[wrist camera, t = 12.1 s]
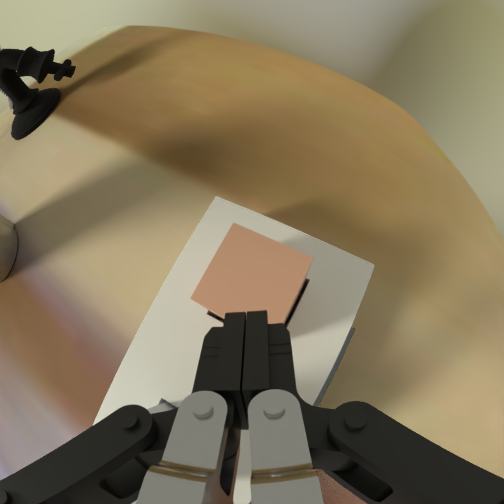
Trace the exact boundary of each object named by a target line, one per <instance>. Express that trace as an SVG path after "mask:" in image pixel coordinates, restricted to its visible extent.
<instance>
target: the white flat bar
mask: <svg viewBox="0 0 504 504" xmlns="http://www.w3.org/2000/svg"><path fill="white" fill-rule="evenodd" d="M233 222H234V223H236V224H238V225H241V226H243V227H245V228H248V229H250V230H252V231H254V232H257V233H259V234H261V235H264V236H266V237H268V238H270V239H273V240H275V241H277V242H279V243H282V244H284V245H286V246H288V247H291V248H293V249H295V250H297V251H300V252H302V253H304V254H306V255H308V256H311V257H313V261H312V263H311V266H310V269H309V271H308V274H307V277H306V279H305V282H304V284H303V287H302V290H301V292H300V295H299V297H298V299H297V301H296V303H295V305H294V307H293V309H292V311H291V313H290V315H289V317H288V319H287V321H286V323H285V327H286V328H287V329H288V330H289V332H290V338H291V346H292V354H293V363H294V371H295V380H296V388H297V392H298V394H299V396H300V397H301V398H302V399H303V400H304V401H305V402H306V403H308V404H310V405H312V406H315V407H317V406H318V404H319V403H320V401H321V399H322V397H323V395H324V393H325V391H326V389H327V387H328V386H329V384H330V382H331V380H332V378H333V376H334V374H335V372H336V370H337V367H338V365H339V363H340V361H341V359H342V357H343V355H344V353H345V351H346V348H347V346H348V344H349V342H350V339H351V337H352V335H353V333H354V330H355V329H354V328H352V327H351V326H352V323H353V321H354V319H355V316H356V314H357V311H358V309H359V306H360V304H361V301H362V299H363V296H364V294H365V291H366V289H367V286H368V283H369V280H370V278H371V275H372V272H373V269H374V267H375V265H374V264H372V263H370V262H368V261H365V260H363V259H361V258H359V257H357V256H355V255H353V254H350V253H348V252H346V251H344V250H342V249H339V248H337V247H335V246H333V245H331V244H328V243H326V242H324V241H322V240H319V239H317V238H315V237H313V236H310V235H308V234H306V233H304V232H301V231H299V230H297V229H294V228H292V227H290V226H287V225H285V224H283V223H280V222H278V221H276V220H273V219H271V218H269V217H266V216H264V215H262V214H259V213H257V212H254V211H252V210H250V209H247V208H245V207H242V206H240V205H237V204H235V203H232V202H230V201H227V200H225V199H222V198H220V197H217V196H216V197H215V198H214V200H213V202H212V203H211V205H210V206H209V208H208V210H207V211H206V213H205V214H204V216H203V218H202V219H201V221H200V222H199V224H198V226H197V227H196V229H195V231H194V232H193V234H192V236H191V237H190V239H189V240H188V242H187V244H186V246H185V247H184V249H183V251H182V252H181V254H180V256H179V257H178V259H177V261H176V263H175V264H174V266H173V268H172V269H171V271H170V273H169V275H168V276H167V278H166V280H165V282H164V284H163V285H162V287H161V289H160V291H159V292H158V294H157V296H156V298H155V300H154V302H153V303H152V305H151V307H150V309H149V311H148V313H147V314H146V316H145V318H144V320H143V322H142V324H141V326H140V328H139V330H138V332H137V333H136V335H135V337H134V339H133V341H132V343H131V345H130V347H129V349H128V351H127V353H126V355H125V357H124V359H123V361H122V363H121V365H120V367H119V369H118V371H117V373H116V375H115V378H114V380H113V382H112V384H111V386H110V388H109V390H108V392H107V395H106V397H105V399H104V401H103V403H102V406H101V408H100V410H99V412H98V414H97V417H96V419H95V421H94V424H93V425H95V424H96V423H98V422H99V421H101V420H102V419H104V418H105V417H107V416H108V415H110V414H111V413H113V412H114V411H116V410H117V409H119V408H121V407H123V406H126V405H131V404H134V405H140V406H142V407H144V408H146V409H148V408H151V407H154V406H156V405H159V404H161V403H164V402H169V403H171V404H172V405H174V406H175V407H179V406H180V404H181V402H182V401H183V400H184V399H185V398H186V397H187V396H188V395H190V394H191V393H192V389H193V385H194V380H195V375H196V371H197V366H198V362H199V358H200V353H201V349H202V344H203V340H204V336H205V335H206V334H207V333H208V331H209V330H210V329H211V328H212V327H223V324H224V320H223V319H222V318H220V317H219V316H217V315H215V314H214V313H212V312H211V311H209V310H207V309H206V308H204V307H203V306H201V305H199V304H198V303H196V302H195V301H193V300H192V299H190V298H191V296H192V294H193V293H194V291H195V289H196V287H197V285H198V284H199V282H200V280H201V278H202V276H203V275H204V273H205V271H206V269H207V268H208V266H209V264H210V262H211V261H212V259H213V257H214V255H215V253H216V252H217V250H218V248H219V246H220V245H221V243H222V241H223V240H224V238H225V236H226V234H227V233H228V231H229V229H230V227H231V226H232V224H233ZM251 473H252V470H251V453H250V437H249V430H241V437H240V455H239V462H238V469H237V475H236V482H235V488H234V495H233V503H234V504H252V503H251V487H250V479H251Z"/></svg>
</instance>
